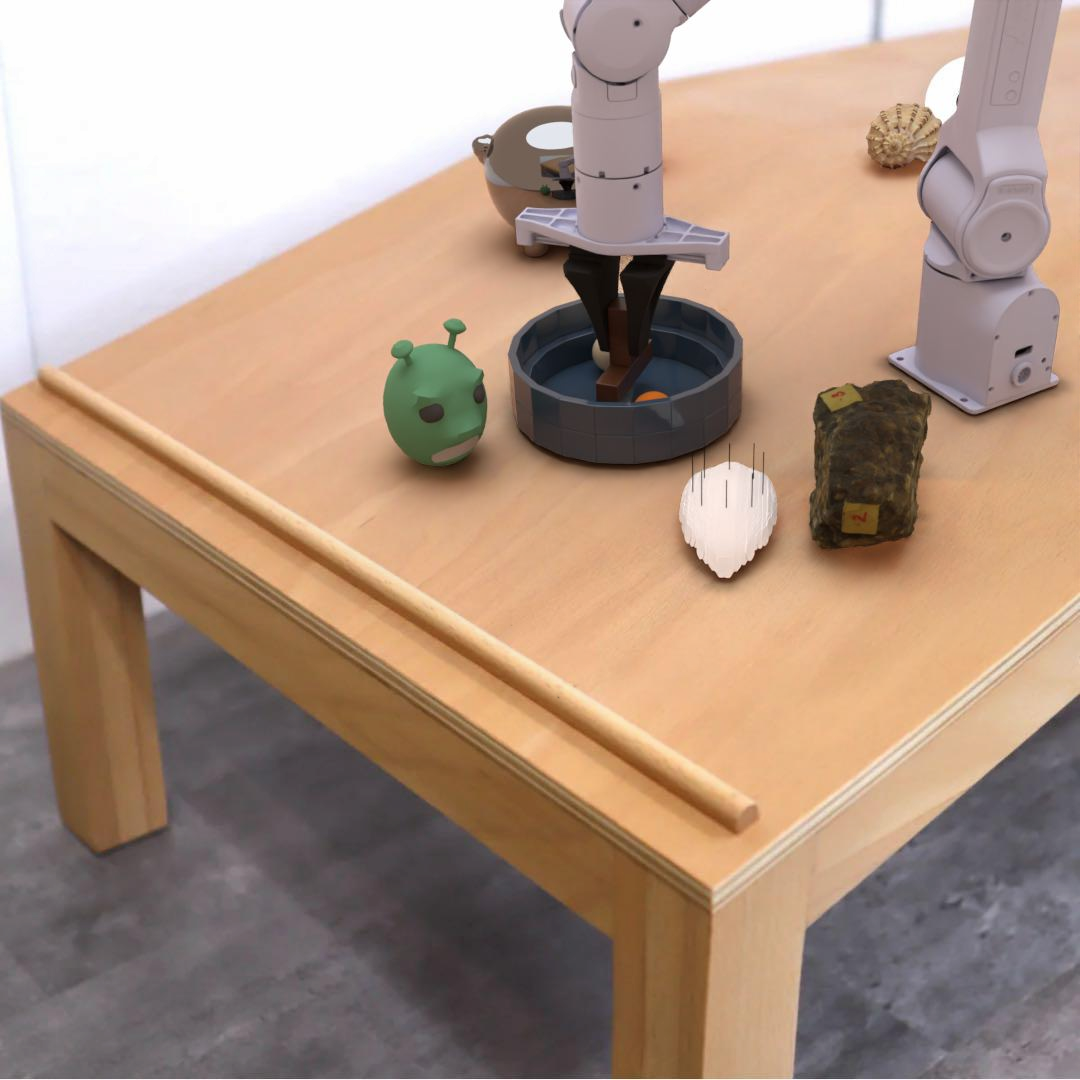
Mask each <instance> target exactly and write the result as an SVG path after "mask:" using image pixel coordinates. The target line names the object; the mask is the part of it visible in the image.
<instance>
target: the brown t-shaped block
mask: <svg viewBox="0 0 1080 1080" xmlns="http://www.w3.org/2000/svg"><path fill="white" fill-rule="evenodd" d="M608 331H609V349H610V352H609V356H610V365H609V366H608V368H607V369H606V370H605V371H604V373H603V374H602V375H601V377H600V378H599V379H598V381H597V382H596V402H621V401H622V399H623V398H624V397H625V395H626V394H627V393H628V391H629V390H630V388H631V387H632V386H633V384H634V383H635V382H636V380H637V379H638V378H639V376H640V375H641V373H642V372H643V371H644V369H645V368H646V367H647V365H648V364H649V363H650V361H651V360H652V339H649V344H648V346H647V347H646V348H645V350H644V351H643V352H642V354H641V355H640V356H639V357H635V356H629V351H628V318H627V309H626V302H625V299H622V298H615V299H614V301H613V302H612V303H611V304H610V305H609V307H608Z"/></svg>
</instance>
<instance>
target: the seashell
mask: <svg viewBox="0 0 1080 1080" xmlns="http://www.w3.org/2000/svg"><path fill="white" fill-rule="evenodd" d="M942 124H943V122H942V120H941V119H940V118H938V117H936V116H935V114H934V113H933V111H932V109H931V108H930V107H929V106H924V107H923V106H921V105H919V104H918V103H917V102H914V103H911V104H910V103H900V102H897V103H896V104H895V105H893V106H891V107H889V108H888V109H885V110H881V111H880V112H879V115H878V116H877V117H876V118H875V119H874V120H873V121H872V122H870V129H869V131H868V134H867V135H866V137H865V140H866V141H867V154H868V155H869V156H870V159H871V160H872V161H874V162H875V163H876V164H878V165H879V167H881V169H882V168H883V169H888V170H892V171H895V170H898V169H901V168H904V167H906V166H907V165H908V164H909V163H911V162H912V161H914V160H917V161H921V162H922V163H925V164H926V163H927V162H928V161H929V159H930V158H931V156H932V154H933V152H934V151H935V148H936V145H937V141H938V136H939V130H940V127H941V126H942Z"/></svg>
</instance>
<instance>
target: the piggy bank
mask: <svg viewBox="0 0 1080 1080" xmlns="http://www.w3.org/2000/svg"><path fill="white" fill-rule="evenodd" d="M471 149H472V153H473V154H474V156H476V158H477V160H478V162H479V163H480V164H482V165H483V170H484V172H483V173H484V179H485V180H484V181H485V184H486V188H487V191H488V194H489V197H490V200H491V202H492V204H493V206H494V208H495V210H496V211H497V213H498V214H499V215H500V217H501V218H502V219H503V221H505V222H506V224H508V225H509V226H510V227H511V228H513V229H514V230H516V222H515V219H516V218H517V217H518V216H519V215H520V214H521V213H522V212H523V211H524V210H525V209H526V208H527V207H529V208H542V209H557V208H577V207H576V187H575V167H574V149H573V128H572V108H571V105H561V104H560V105H558V104H557V105H555V104H554V105H544V106H537V107H533V108H530V109H526V110H523V111H522V112H519V113H516V114H515V115H513V116H511V117H510V118H508V119H506V120H505V121H504V122H503V123H502V124H501V125H500V126H498V128H497V129H496V130H495V131H494V133H493V134H489V133H486V134H483V135H480V136H477V137H475V138H474V139H473V140H472V142H471ZM523 246H524V252H525V254H526V255H527V256H529V257H533V258H534V257H541V256H543V255H544V254H546V253H547V251H548V250H549V246H550V244H545V243H537V242H534V244H533V245H531V246H525V245H523Z"/></svg>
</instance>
